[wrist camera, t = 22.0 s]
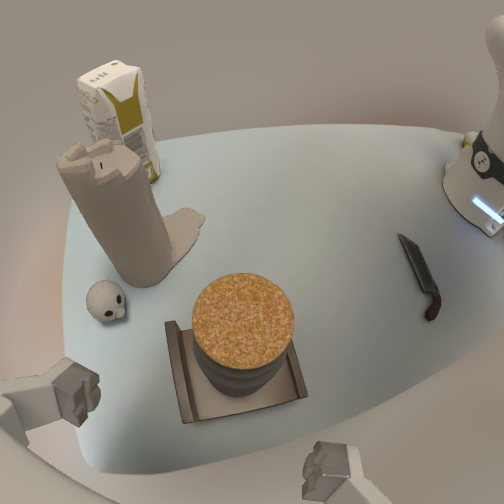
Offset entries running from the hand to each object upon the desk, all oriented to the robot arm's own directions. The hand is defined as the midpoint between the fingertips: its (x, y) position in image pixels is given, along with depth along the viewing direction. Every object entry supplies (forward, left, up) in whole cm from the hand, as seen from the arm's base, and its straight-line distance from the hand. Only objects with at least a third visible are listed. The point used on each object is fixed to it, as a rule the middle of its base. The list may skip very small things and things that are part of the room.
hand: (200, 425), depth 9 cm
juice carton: (+7, -36, -22) cm, 43 cm away
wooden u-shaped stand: (-3, -4, -22) cm, 22 cm away
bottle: (-3, -4, -17) cm, 18 cm away
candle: (+3, -22, -22) cm, 31 cm away
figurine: (+10, -14, -22) cm, 28 cm away
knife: (-31, -10, -22) cm, 39 cm away
